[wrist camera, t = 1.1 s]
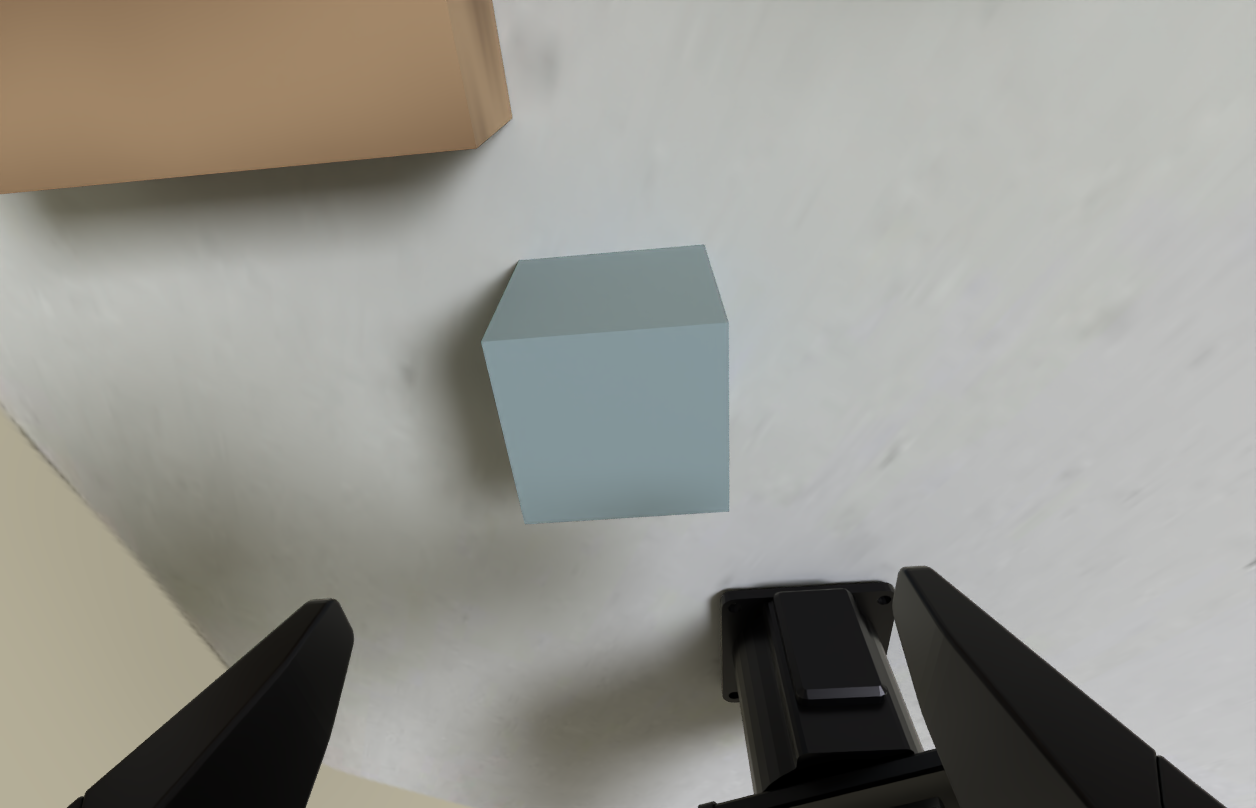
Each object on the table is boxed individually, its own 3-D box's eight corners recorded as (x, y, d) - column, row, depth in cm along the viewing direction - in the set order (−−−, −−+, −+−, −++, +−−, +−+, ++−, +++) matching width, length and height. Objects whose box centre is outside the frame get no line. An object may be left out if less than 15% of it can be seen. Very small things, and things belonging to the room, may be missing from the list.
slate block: (707, 401, 19) (729, 511, 15) (548, 413, 19) (524, 524, 15) (703, 243, 16) (728, 322, 12) (519, 259, 17) (481, 341, 13)
